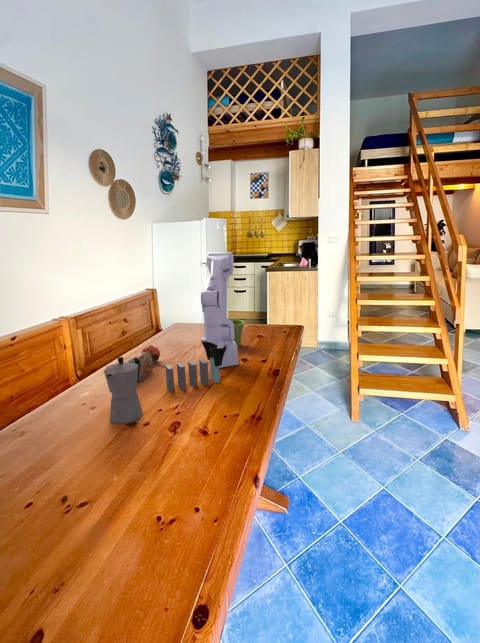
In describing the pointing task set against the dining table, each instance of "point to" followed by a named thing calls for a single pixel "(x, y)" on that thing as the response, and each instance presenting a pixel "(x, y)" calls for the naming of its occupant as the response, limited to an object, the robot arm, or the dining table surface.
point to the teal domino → (214, 371)
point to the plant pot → (238, 331)
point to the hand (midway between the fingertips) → (214, 362)
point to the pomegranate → (153, 352)
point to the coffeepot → (124, 391)
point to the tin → (145, 364)
